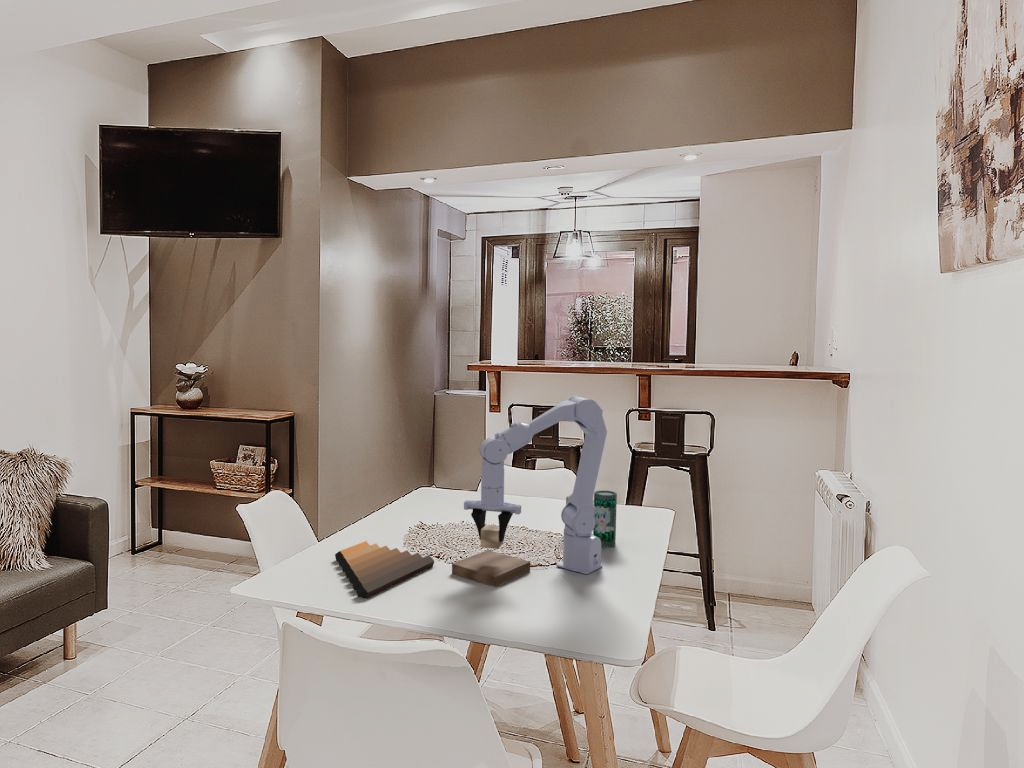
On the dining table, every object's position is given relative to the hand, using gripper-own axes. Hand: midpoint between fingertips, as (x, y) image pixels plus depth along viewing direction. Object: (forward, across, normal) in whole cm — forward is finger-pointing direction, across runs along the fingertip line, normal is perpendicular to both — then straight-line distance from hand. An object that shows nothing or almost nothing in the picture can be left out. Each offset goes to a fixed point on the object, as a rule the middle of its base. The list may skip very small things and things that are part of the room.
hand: (491, 539), depth 167 cm
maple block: (+2, 0, 0) cm, 2 cm away
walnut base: (+8, 0, 0) cm, 8 cm away
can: (+9, -24, -32) cm, 41 cm away
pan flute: (+9, +30, +10) cm, 33 cm away
